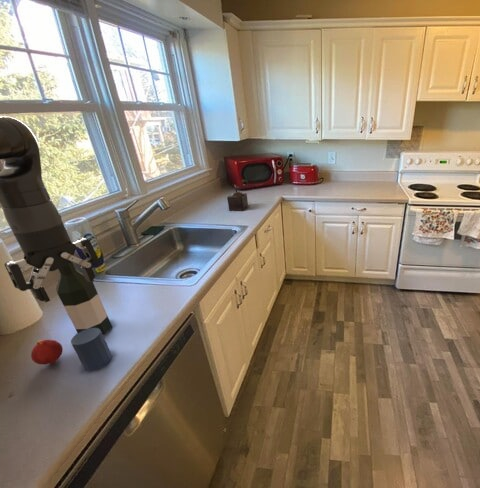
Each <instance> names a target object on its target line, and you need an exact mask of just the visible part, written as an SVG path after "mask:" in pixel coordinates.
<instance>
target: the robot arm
mask: <svg viewBox="0 0 480 488" xmlns="http://www.w3.org/2000/svg"><path fill="white" fill-rule="evenodd" d="M40 152H41V151H40V146H39V143H38V140H37V138H36V136H35V134H34V132H33V131H32V130H31V129H30V128H29V127H28V126H27V125H26V124H25V123H24V122H23V121H20V120H19V119H17V118H15V117H12V116H5V115H3V116H0V161H1V160H2V164H3V165H2V169H1V170H0V207H1V209H2V212H3V215H4V218H5V220H6V223H7V224H8V226H9V228H10V230H11V232H12V234H13V236H14V238H15V239H16V241H17V243H18V245H19V247H20V249H21V251H22V252H23V253H22V254H23V258H22V259H18V260H14V261H6V262H4V267H5V270H6V271H7V273H8V276H9V278H10V279H11V282H12V284H13V287H14V288H15V289H18V290H19V291H20V292H26V291H28V290H31V291H32V294H33V295H34V297H35V299H37V300H38V301H40V302H44V303H48V302H50V301H51V299H50V296H49V295H48V293H47V291H46V289H45V287H44V286H42V284H43V282H44V280H45V279H46V278H47V276H48V274H49V272H55V271H57V270H59V269H58V268H60V267H65V266H68V265H69V263H70V262H72V263H73V264H77V265H79V266H80V267H79V268H80V271H81V273H83V275H84V277H85V279H86V281H88V282H92V281H93V282H94V281H95V278H96V274H95V272H94V269H93V267H92V266H93V264H94V263H97V262H99V260H100V258H99V256H98V254H97V252H96V250H95V248H94V246H93V244H92V242H91V240H90V239H88V238H85V237H78V240H76V241H72V240H71V238H70V235H69V233H68V231H67V229H66V226H65V224H64V222H63V219H62V215H61V214H60V213H59V210H58V209H57V206H56V205H55V204H54V202H53V200H52V198H51V195H50V194H49V192H48V190H47V187H46V185H45V182H44V180H43V177H42V176H43V175H42V171H43V170H42V162H41V153H40ZM77 248H78V249H81V250H82V252H83V253H84V255H85V257H86V258H85V259H82V258H80V257H77V256H76V255H75V252H76V250H77ZM26 265H29V266H31V267H32V268H31V270H30V276H29V279H28V281H26V279H25V277H24V274H23V271H25V267H26Z"/></svg>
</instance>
